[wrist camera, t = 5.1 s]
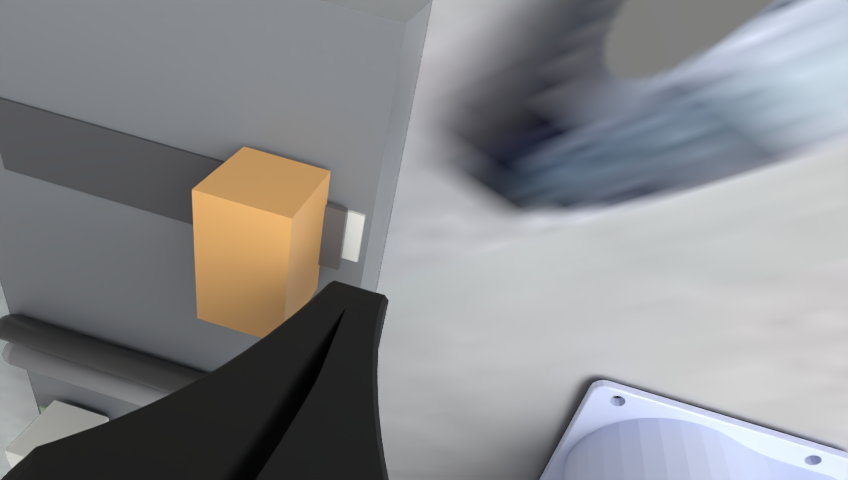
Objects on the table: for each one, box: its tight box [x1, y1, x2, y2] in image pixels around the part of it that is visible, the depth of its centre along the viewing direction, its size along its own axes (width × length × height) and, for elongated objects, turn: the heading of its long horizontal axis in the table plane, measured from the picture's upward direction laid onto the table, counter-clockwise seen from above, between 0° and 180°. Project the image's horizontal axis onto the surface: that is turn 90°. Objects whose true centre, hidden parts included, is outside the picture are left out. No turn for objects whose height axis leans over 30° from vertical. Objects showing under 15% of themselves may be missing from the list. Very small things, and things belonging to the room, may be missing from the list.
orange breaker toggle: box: [192, 147, 349, 338], centre depth 15 cm, size 4×4×3 cm
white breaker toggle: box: [5, 400, 109, 469], centre depth 23 cm, size 4×4×2 cm
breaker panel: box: [0, 0, 432, 421], centre depth 21 cm, size 13×24×4 cm, turn 168°
